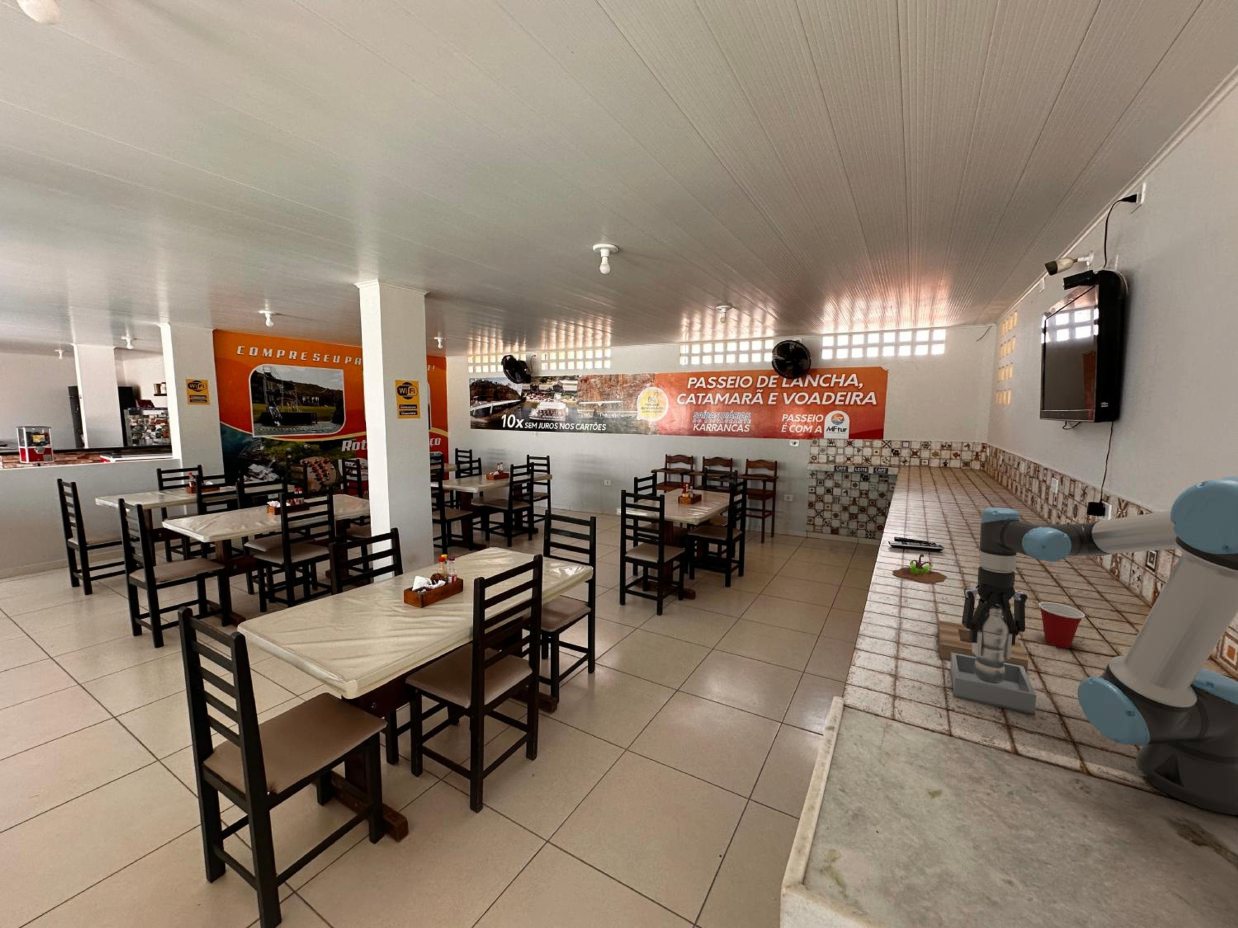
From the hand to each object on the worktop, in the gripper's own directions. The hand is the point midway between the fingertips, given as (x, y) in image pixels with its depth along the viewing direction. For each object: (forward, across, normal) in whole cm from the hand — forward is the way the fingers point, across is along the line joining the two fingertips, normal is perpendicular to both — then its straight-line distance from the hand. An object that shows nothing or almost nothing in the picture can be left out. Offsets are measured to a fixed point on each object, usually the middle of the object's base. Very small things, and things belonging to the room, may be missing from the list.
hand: (990, 655), depth 129 cm
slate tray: (+10, 0, 0) cm, 10 cm away
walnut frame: (+10, -8, -22) cm, 26 cm away
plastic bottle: (+7, 0, 0) cm, 7 cm away
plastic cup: (+10, -35, -32) cm, 48 cm away
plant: (+10, -19, -95) cm, 97 cm away
